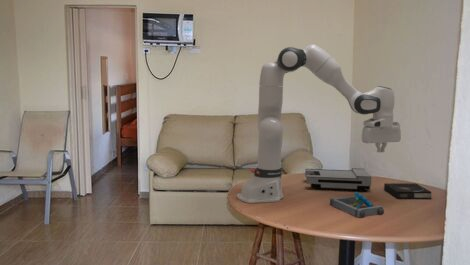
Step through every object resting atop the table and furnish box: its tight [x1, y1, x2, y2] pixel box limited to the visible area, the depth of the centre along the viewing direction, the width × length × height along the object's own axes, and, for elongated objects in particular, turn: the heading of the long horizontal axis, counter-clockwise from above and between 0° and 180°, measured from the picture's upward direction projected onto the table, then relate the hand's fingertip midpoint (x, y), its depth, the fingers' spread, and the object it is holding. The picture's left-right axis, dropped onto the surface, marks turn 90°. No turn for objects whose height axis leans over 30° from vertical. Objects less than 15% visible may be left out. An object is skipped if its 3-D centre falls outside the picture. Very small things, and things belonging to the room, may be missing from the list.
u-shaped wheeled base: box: [329, 195, 385, 219], centre depth 187 cm, size 14×20×3 cm, turn 24°
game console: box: [304, 168, 372, 193], centre depth 227 cm, size 21×32×8 cm, turn 83°
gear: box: [352, 192, 374, 209], centre depth 188 cm, size 11×6×10 cm
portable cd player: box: [383, 182, 433, 200], centre depth 212 cm, size 16×17×4 cm
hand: (380, 152), depth 196 cm, fingers closed
